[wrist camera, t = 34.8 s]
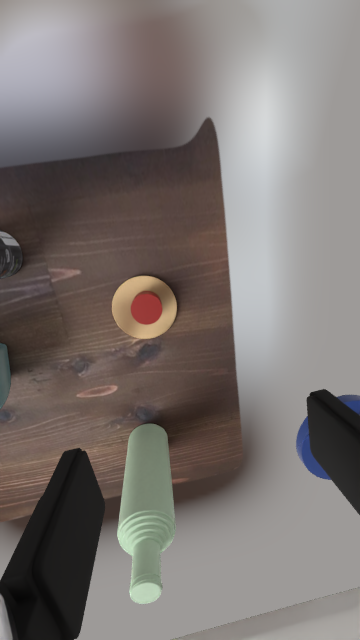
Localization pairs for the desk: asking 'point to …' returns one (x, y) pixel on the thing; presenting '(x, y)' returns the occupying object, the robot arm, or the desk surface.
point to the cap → (146, 307)
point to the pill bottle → (9, 255)
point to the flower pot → (4, 374)
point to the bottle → (146, 509)
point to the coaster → (124, 301)
